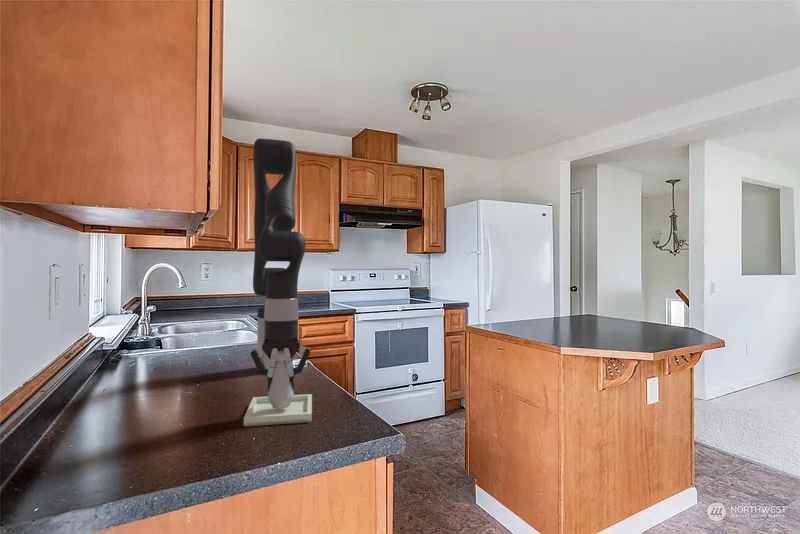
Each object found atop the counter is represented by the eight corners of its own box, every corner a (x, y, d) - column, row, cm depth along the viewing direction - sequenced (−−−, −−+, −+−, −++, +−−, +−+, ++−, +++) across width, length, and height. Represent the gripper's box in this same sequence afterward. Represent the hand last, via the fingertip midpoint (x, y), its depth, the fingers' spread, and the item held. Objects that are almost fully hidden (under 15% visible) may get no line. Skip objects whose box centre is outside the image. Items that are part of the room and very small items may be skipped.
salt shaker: (286, 411, 92) (286, 352, 92) (262, 409, 93) (263, 351, 93) (297, 402, 98) (298, 347, 98) (275, 400, 99) (276, 346, 99)
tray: (253, 404, 101) (253, 397, 101) (311, 401, 104) (311, 394, 104) (243, 426, 87) (243, 417, 87) (311, 421, 90) (311, 413, 90)
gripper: (312, 315, 101) (312, 386, 101) (251, 316, 98) (251, 389, 98) (312, 319, 93) (311, 395, 93) (246, 320, 90) (246, 399, 90)
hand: (280, 391), depth 95 cm, fingers closed on salt shaker, 3 cm apart
